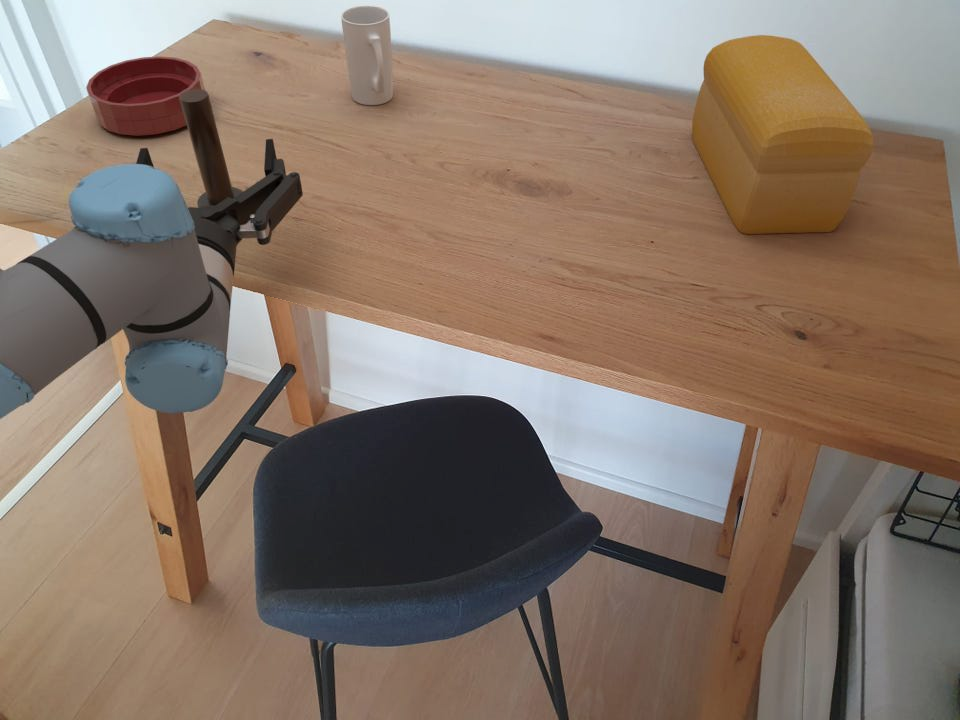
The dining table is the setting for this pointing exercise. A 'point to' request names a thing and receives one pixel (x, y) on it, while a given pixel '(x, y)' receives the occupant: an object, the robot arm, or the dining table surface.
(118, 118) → the bowl
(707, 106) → the bread
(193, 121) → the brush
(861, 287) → the dining table surface
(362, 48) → the mug
